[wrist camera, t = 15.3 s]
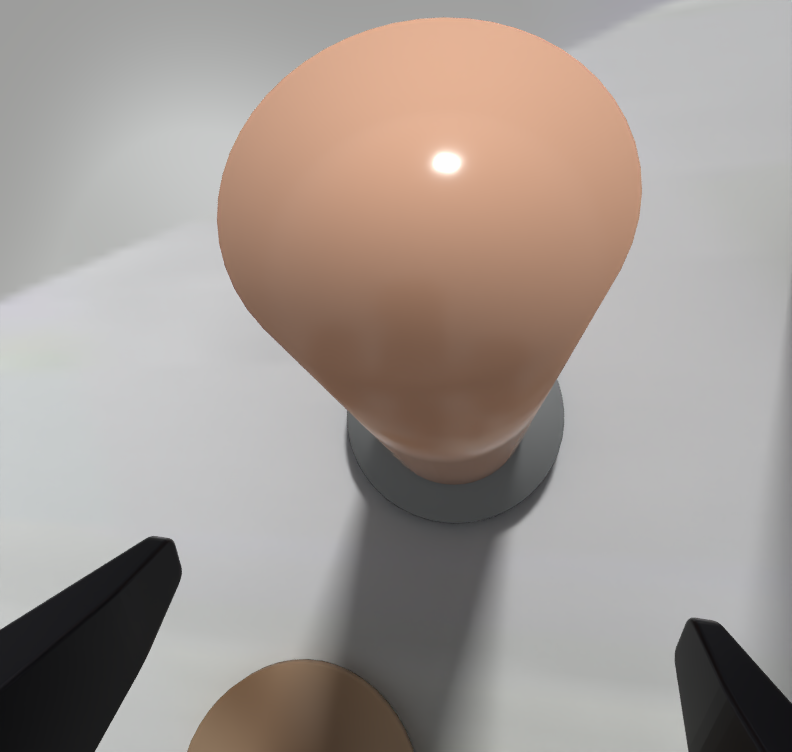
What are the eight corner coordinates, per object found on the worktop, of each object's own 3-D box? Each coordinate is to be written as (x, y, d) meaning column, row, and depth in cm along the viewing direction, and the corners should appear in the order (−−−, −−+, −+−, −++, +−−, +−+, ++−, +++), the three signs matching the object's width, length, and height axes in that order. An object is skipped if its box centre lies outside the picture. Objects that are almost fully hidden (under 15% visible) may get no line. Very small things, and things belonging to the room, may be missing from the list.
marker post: (413, 507, 18) (288, 461, 6) (362, 377, 19) (174, 113, 7) (550, 450, 18) (733, 272, 5) (487, 324, 19) (520, -38, 7)
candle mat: (455, 571, 18) (455, 573, 17) (309, 416, 20) (304, 413, 19) (607, 412, 19) (611, 408, 18) (450, 279, 21) (450, 272, 20)
